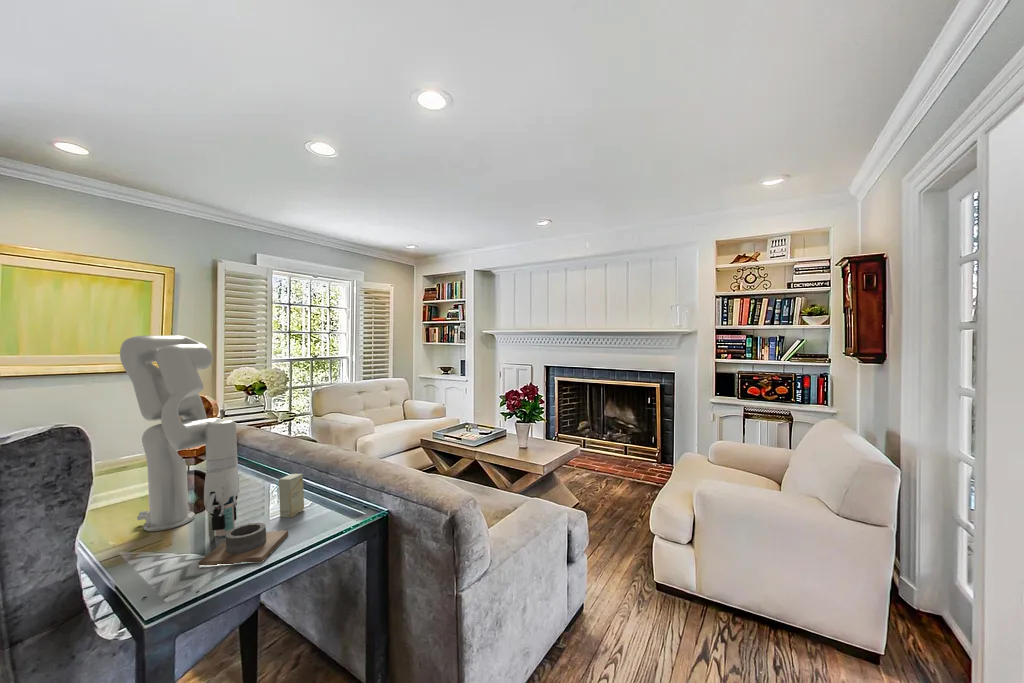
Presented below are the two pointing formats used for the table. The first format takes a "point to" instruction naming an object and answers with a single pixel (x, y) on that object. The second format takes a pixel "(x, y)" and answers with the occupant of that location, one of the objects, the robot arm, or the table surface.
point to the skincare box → (291, 495)
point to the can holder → (245, 545)
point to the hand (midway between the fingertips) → (224, 524)
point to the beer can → (227, 517)
